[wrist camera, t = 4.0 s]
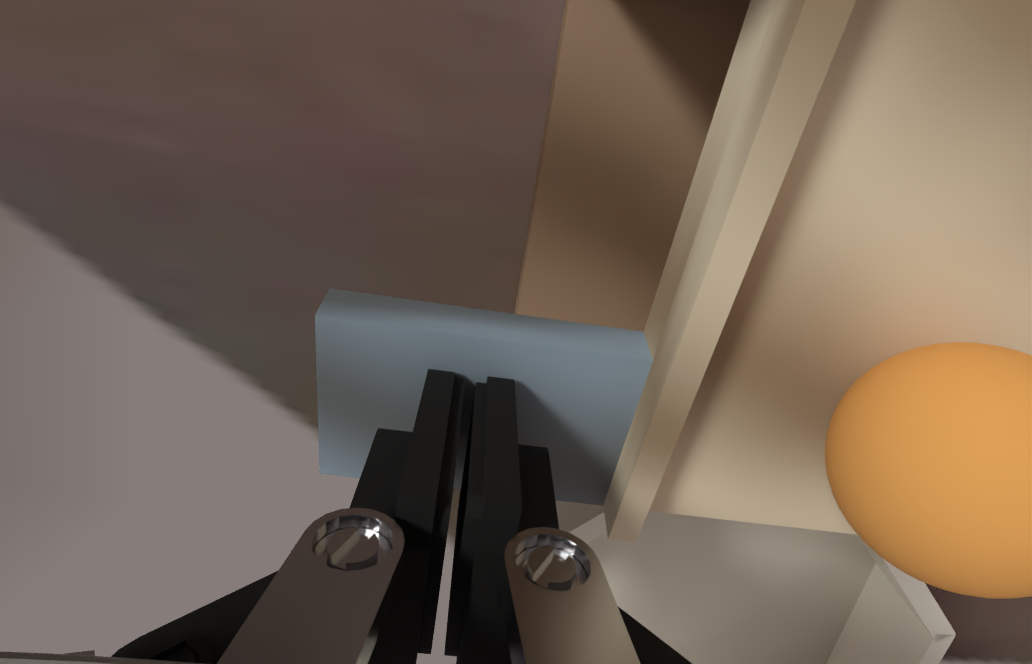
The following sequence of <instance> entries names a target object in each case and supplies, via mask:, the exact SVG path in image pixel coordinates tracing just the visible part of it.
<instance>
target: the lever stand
mask: <svg viewBox="0 0 1032 664" xmlns="http://www.w3.org/2000/svg"><path fill="white" fill-rule="evenodd" d="M750 1H751V0H566V2H565V8H564V14H563V20H562V26H561V32H560V38H559V45H558V51H557V57H556V63H555V69H554V75H553V81H552V87H551V93H550V99H549V105H548V112H547V118H546V124H545V130H544V136H543V142H542V148H541V154H540V160H539V166H538V172H537V179H536V185H535V191H534V197H533V203H532V209H531V215H530V221H529V227H528V233H527V239H526V246H525V252H524V258H523V264H522V270H521V276H520V282H519V288H518V294H517V300H516V306H515V312H514V314H519V315H527V316H534V317H541V318H548V319H556V320H563V321H570V322H578V323H585V324H592V325H599V326H607V327H614V328H621V329H628V330H636V331H643V332H644V329H645V326H646V323H647V320H648V317H649V314H650V311H651V307H652V304H653V301H654V298H655V295H656V292H657V289H658V286H659V283H660V280H661V276H662V273H663V270H664V267H665V264H666V261H667V258H668V255H669V252H670V249H671V246H672V242H673V239H674V236H675V233H676V230H677V227H678V224H679V221H680V218H681V215H682V211H683V208H684V205H685V202H686V199H687V196H688V193H689V190H690V187H691V184H692V180H693V177H694V174H695V171H696V168H697V165H698V162H699V159H700V156H701V153H702V149H703V146H704V143H705V140H706V137H707V134H708V131H709V128H710V125H711V122H712V118H713V115H714V112H715V109H716V106H717V103H718V100H719V97H720V94H721V91H722V87H723V84H724V81H725V78H726V75H727V72H728V69H729V66H730V63H731V60H732V57H733V53H734V50H735V47H736V44H737V41H738V38H739V35H740V32H741V29H742V26H743V22H744V19H745V16H746V13H747V10H748V7H749V4H750Z"/></svg>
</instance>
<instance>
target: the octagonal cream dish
mask: <svg viewBox="0 0 1032 664" xmlns="http://www.w3.org/2000/svg"><path fill="white" fill-rule="evenodd" d="M555 501H556V508H557V516H558V523H559V530H562V531H565V532H568V533H571V534H573V535H574V536H576V537H578V538H580V539H581V540H583V541H584V542H585V543H586V544H587V545H588V546H589V547H590V548H592V549H593V551H594V553H595V554H596V556H597V558H598V559H599V561H600V564H601V566H602V569H603V571H604V574H605V576H606V579H607V581H608V584H609V586H610V589H611V591H612V594H613V596H614V599H615V601H616V604H617V606H618V607H620V608H621V609H622V610H624V611H625V612H626V613H627V614H629V615H630V616H631V617H633V618H634V619H635V620H637V621H638V622H639V623H640V624H642V625H643V626H644V627H646V628H647V629H648V630H649V631H651V632H652V633H653V634H655V635H656V636H657V637H659V638H660V639H661V640H662V641H664V642H665V643H666V644H668V645H669V646H670V647H672V648H673V649H674V650H675V651H677V652H678V653H679V654H681V655H682V656H683V657H684V658H686V659H687V660H688V661H690V662H691V663H692V664H939V663H940V661H941V659H942V658H943V656H944V654H945V653H946V651H947V649H948V648H949V646H950V644H951V643H952V641H953V639H954V638H955V636H956V635H955V634H956V633H955V631H954V630H953V628H952V627H951V625H950V623H949V622H948V620H947V618H946V617H945V615H944V614H943V612H942V610H941V609H940V607H939V605H938V604H937V602H936V601H935V599H934V597H933V596H932V594H931V592H930V591H929V589H928V587H927V586H926V584H925V583H924V582H922V581H920V580H918V579H915V578H913V577H911V576H910V575H908V574H906V573H904V572H902V571H901V570H899V569H898V568H896V567H895V566H893V565H892V564H890V563H889V562H887V561H886V560H884V559H883V558H882V557H880V556H879V555H878V554H877V553H876V552H875V551H874V550H872V549H871V548H870V547H869V546H868V545H867V544H866V543H865V542H864V541H863V540H862V539H861V538H860V537H859V536H858V535H855V534H847V533H838V532H829V531H820V530H811V529H803V528H794V527H785V526H776V525H768V524H759V523H750V522H741V521H732V520H724V519H715V518H706V517H697V516H689V515H680V514H671V513H662V512H653V511H649V512H648V514H647V516H646V519H645V521H644V524H643V526H642V529H641V531H640V534H639V536H638V539H637V541H636V543H635V542H626V541H617V540H608V536H607V529H606V523H605V516H604V509H603V506H601V505H592V504H583V503H574V502H566V501H557V500H555Z"/></svg>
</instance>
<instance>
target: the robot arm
mask: <svg viewBox="0 0 1032 664" xmlns="http://www.w3.org/2000/svg"><path fill="white" fill-rule="evenodd" d="M464 386H465V381H464V380H456V379H455V372H450V371H442V370H434V369H428V371H427V375H426V379H425V384H424V388H423V392H422V396H421V400H420V404H419V408H418V412H417V416H416V420H415V424H414V428H413V432H409V431H401V430H392V429H383V428H378V429H377V432H376V434H375V437H374V440H373V443H372V446H371V448H370V451H369V454H368V457H367V460H366V463H365V466H364V468H363V471H362V474H361V477H360V480H359V483H358V486H357V488H356V491H355V494H354V497H353V500H352V503H351V506H350V508H348V509H340V510H337V511H334V512H331V513H328V514H325V515H324V516H322V517H320V518H319V519H317V520H315V521H314V522H313V523H312V524H311V525H310V526H309V527H308V528H307V529H306V530H305V532H304V533H303V535H302V536H301V538H300V539H299V541H298V542H297V544H296V545H295V547H294V548H293V550H292V551H291V553H290V554H289V556H288V557H287V559H286V560H285V562H284V564H283V565H282V566H281V568H280V569H279V571H277V572H274V573H272V574H270V575H268V576H266V577H264V578H262V579H260V580H258V581H256V582H254V583H251V584H249V585H247V586H246V587H243V588H241V589H239V590H237V591H235V592H233V593H231V594H228V595H226V596H225V597H222V598H220V599H218V600H216V601H214V602H212V603H210V604H208V605H206V606H204V607H201V608H199V609H197V610H195V611H193V612H191V613H189V614H187V615H185V616H183V617H181V618H178V619H176V620H174V621H172V622H170V623H168V624H166V625H164V626H162V627H160V628H158V629H155V630H154V631H151V632H149V633H147V634H145V635H143V636H141V637H139V638H137V639H135V640H134V641H132V642H130V643H129V644H127V645H125V646H124V647H122V648H121V649H119V650H118V651H117V652H116V653H115V654H114V655H112V657H103V656H95V652H94V650H93V651H84V652H75V653H67V654H52V653H51V654H50V653H27V652H0V664H416V660H417V653H424V654H431V649H432V640H433V634H434V626H435V619H436V612H437V605H438V597H439V590H440V582H441V576H442V569H443V561H444V554H445V547H446V539H447V532H448V525H449V517H450V510H451V502H452V494H453V485H454V476H455V467H456V458H457V449H458V440H459V431H460V422H461V413H462V404H463V395H464ZM445 655H448V656H457V662H456V664H692V663H691V662H690V661H688V660H687V659H686V658H684V657H683V656H682V655H681V654H679V653H678V652H677V651H675V650H674V649H673V648H672V647H670V646H669V645H668V644H666V643H665V642H664V641H662V640H661V639H660V638H659V637H657V636H656V635H655V634H653V633H652V632H651V631H649V630H648V629H647V628H646V627H644V626H643V625H642V624H640V623H639V622H638V621H637V620H635V619H634V618H633V617H631V616H630V615H629V614H627V613H626V612H625V611H624V610H622V609H621V608H620V607H618V606H617V604H616V601H615V599H614V596H613V594H612V591H611V589H610V586H609V584H608V581H607V579H606V576H605V574H604V571H603V569H602V566H601V564H600V561H599V559H598V558H597V556H596V554H595V553H594V551H593V549H592V548H590V547H589V546H588V545H587V544H586V543H585V542H584V541H583V540H581V539H580V538H578V537H576V536H574V535H573V534H571V533H568V532H565V531H562V530H559V523H558V516H557V508H556V501H555V494H554V486H553V479H552V472H551V465H550V457H549V451H548V448H547V447H539V446H531V445H522V444H518V430H517V412H516V394H515V380H514V379H506V378H498V377H490V376H488V377H487V381H486V383H481V382H476V385H475V392H474V399H473V406H472V413H471V420H470V427H469V434H468V441H467V448H466V455H465V462H464V469H463V476H462V483H461V490H460V498H459V506H458V515H457V526H456V537H455V547H454V558H453V568H452V579H451V590H450V600H449V611H448V622H447V633H446V643H445Z"/></svg>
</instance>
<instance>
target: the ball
mask: <svg viewBox="0 0 1032 664" xmlns="http://www.w3.org/2000/svg"><path fill="white" fill-rule="evenodd" d="M825 464H826V471H827V477H828V480H829V483H830V487H831V490H832V494H833V496H834V498H835V500H836V502H837V505H838V507H839V509H840V510H841V512H842V513H843V515H844V517H845V518H846V520H847V521H848V523H849V525H850V526H851V527H852V528H853V530H854V531H855V532H856V533H857V534H858V536H859V537H860V538H861V539H862V540H863V541H864V542H865V543H866V544H867V545H868V546H869V547H870V548H871V549H872V550H874V551H875V552H876V553H877V554H878V555H879V556H880V557H882V558H883V559H884V560H886V561H887V562H889V563H890V564H892V565H893V566H895V567H896V568H898V569H899V570H901V571H902V572H904V573H906V574H908V575H910V576H911V577H913V578H915V579H918V580H920V581H922V582H924V583H927V584H929V585H932V586H934V587H937V588H940V589H943V590H947V591H950V592H954V593H958V594H963V595H969V596H975V597H982V598H1022V597H1028V596H1032V355H1029V354H1026V353H1023V352H1020V351H1017V350H1014V349H1010V348H1005V347H1001V346H996V345H989V344H982V343H968V342H952V343H941V344H932V345H927V346H922V347H917V348H914V349H911V350H908V351H905V352H902V353H899V354H897V355H895V356H892V357H890V358H888V359H886V360H884V361H882V362H881V363H879V364H877V365H876V366H874V367H873V368H871V369H869V370H868V371H867V372H866V373H865V374H863V375H862V376H861V377H860V378H858V379H857V380H856V381H855V382H854V384H853V385H852V386H851V387H850V388H849V389H848V390H847V391H846V393H845V394H844V396H843V397H842V399H841V400H840V401H839V403H838V405H837V407H836V409H835V411H834V413H833V415H832V418H831V421H830V424H829V428H828V431H827V437H826V443H825Z"/></svg>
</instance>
